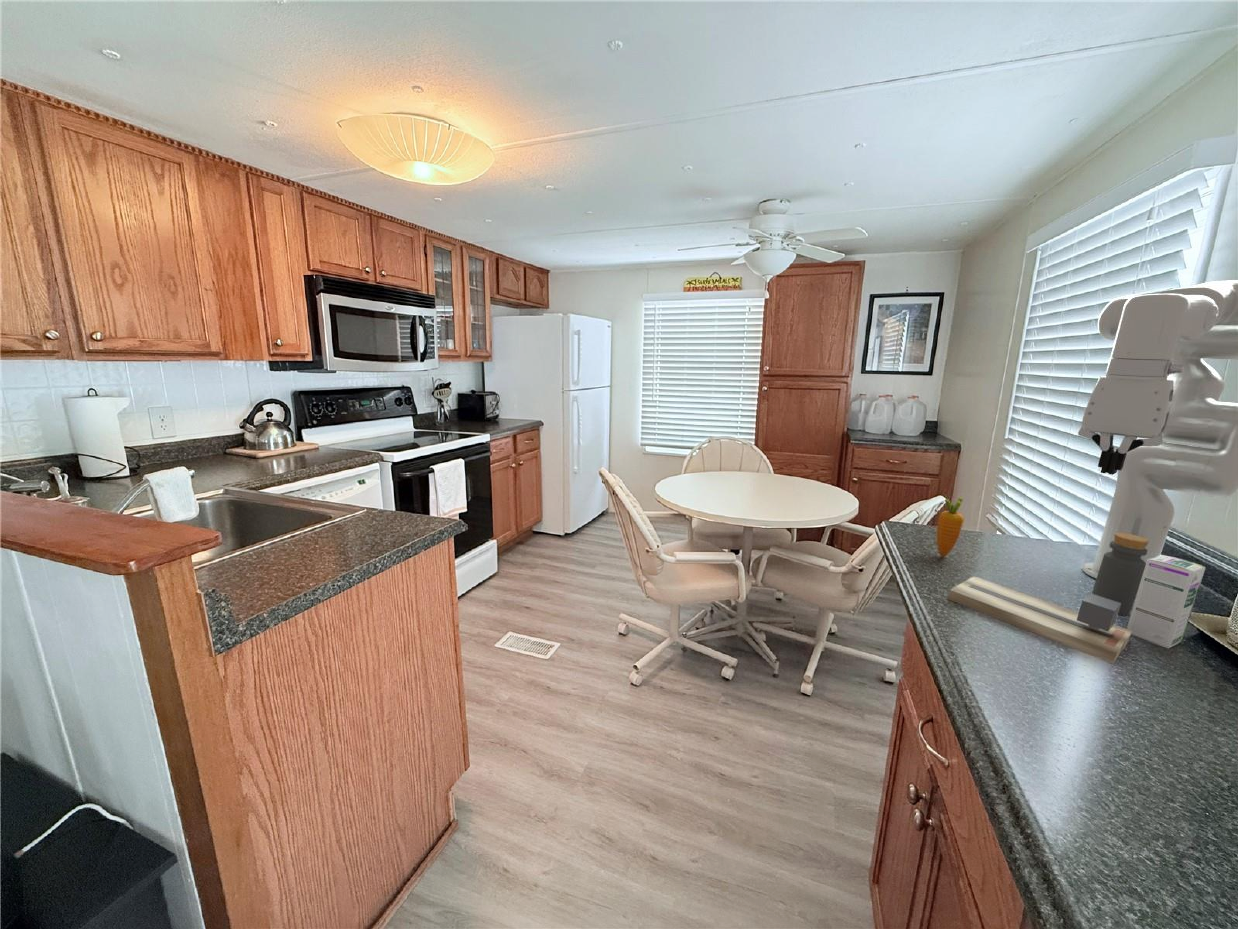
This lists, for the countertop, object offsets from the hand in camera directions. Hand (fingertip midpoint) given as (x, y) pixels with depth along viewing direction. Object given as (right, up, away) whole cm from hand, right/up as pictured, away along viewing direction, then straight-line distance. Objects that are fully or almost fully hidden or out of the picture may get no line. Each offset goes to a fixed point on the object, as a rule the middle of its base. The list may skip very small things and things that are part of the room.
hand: (1108, 472), depth 89 cm
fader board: (-12, -27, +3) cm, 30 cm away
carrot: (-10, -21, +30) cm, 38 cm away
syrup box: (+6, -29, -1) cm, 30 cm away
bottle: (+9, -27, +9) cm, 30 cm away
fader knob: (-7, -27, -4) cm, 28 cm away
